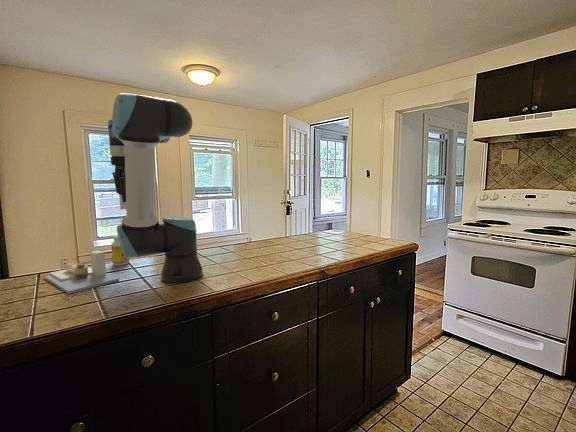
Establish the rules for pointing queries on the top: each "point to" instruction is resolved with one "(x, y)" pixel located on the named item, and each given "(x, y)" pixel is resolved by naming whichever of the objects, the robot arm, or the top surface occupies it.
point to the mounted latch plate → (79, 283)
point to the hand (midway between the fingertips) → (124, 209)
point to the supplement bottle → (118, 253)
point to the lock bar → (76, 269)
